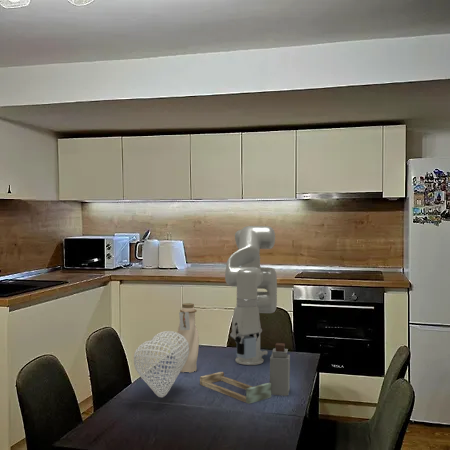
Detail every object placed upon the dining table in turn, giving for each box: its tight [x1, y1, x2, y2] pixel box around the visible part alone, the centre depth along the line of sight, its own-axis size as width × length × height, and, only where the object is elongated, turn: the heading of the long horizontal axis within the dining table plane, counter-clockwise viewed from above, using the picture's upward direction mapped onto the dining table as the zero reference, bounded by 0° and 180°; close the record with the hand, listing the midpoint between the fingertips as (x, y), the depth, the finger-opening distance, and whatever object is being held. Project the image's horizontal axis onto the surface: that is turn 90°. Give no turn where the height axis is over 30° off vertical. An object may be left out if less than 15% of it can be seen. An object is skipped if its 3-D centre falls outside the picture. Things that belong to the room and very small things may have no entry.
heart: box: [133, 330, 189, 398], centre depth 198 cm, size 28×16×22 cm, turn 168°
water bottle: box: [177, 302, 200, 374], centre depth 232 cm, size 10×9×28 cm
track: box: [199, 371, 272, 405], centre depth 206 cm, size 11×28×5 cm, turn 40°
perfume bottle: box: [269, 342, 291, 397], centre depth 205 cm, size 7×7×18 cm
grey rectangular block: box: [236, 335, 256, 359], centre depth 201 cm, size 5×5×7 cm
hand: (246, 352), depth 201 cm, fingers closed on grey rectangular block, 5 cm apart
